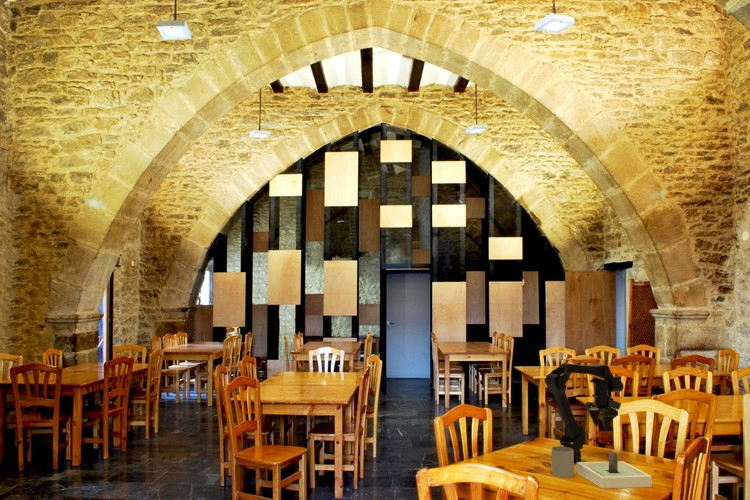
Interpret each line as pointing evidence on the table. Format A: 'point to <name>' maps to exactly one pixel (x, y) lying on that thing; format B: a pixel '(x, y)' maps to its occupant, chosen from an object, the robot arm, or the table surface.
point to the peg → (613, 462)
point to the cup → (562, 461)
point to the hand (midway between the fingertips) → (601, 428)
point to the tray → (615, 479)
